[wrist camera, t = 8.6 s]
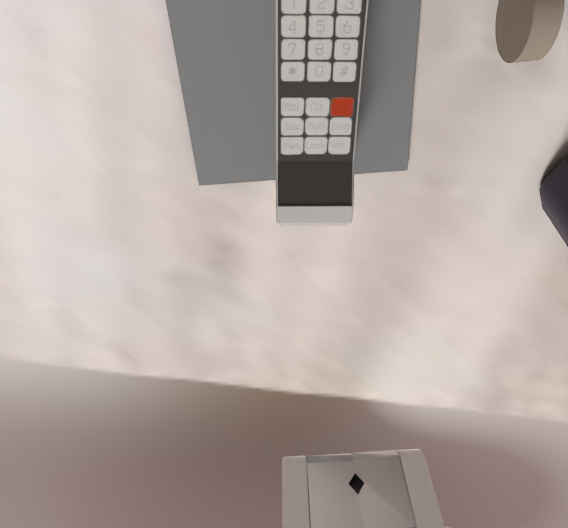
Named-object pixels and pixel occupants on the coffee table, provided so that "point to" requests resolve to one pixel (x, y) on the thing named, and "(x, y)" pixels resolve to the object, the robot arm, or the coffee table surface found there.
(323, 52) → the vintage mobile phone
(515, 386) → the coffee table surface
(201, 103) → the mat
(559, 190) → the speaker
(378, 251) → the coffee table surface
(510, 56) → the figurine character
